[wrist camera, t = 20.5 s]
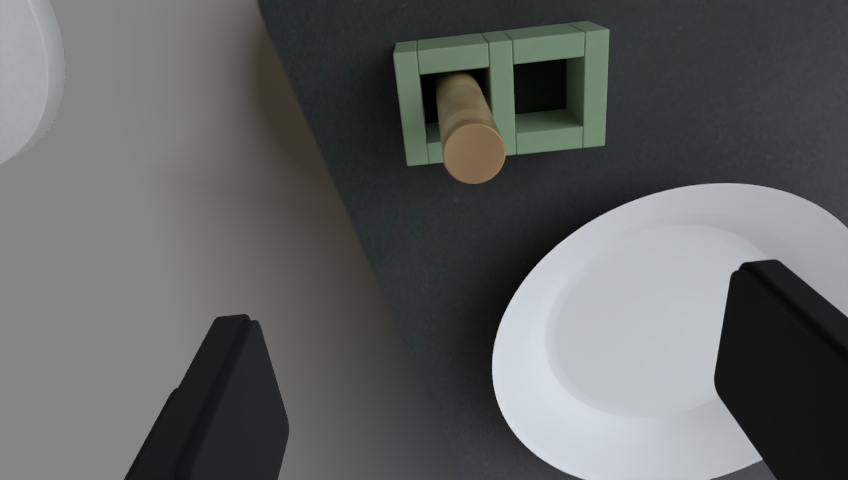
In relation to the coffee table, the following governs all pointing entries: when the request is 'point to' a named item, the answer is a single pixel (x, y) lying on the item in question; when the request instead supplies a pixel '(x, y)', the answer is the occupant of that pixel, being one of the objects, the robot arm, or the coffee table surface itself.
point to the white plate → (649, 330)
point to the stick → (467, 129)
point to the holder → (510, 86)
